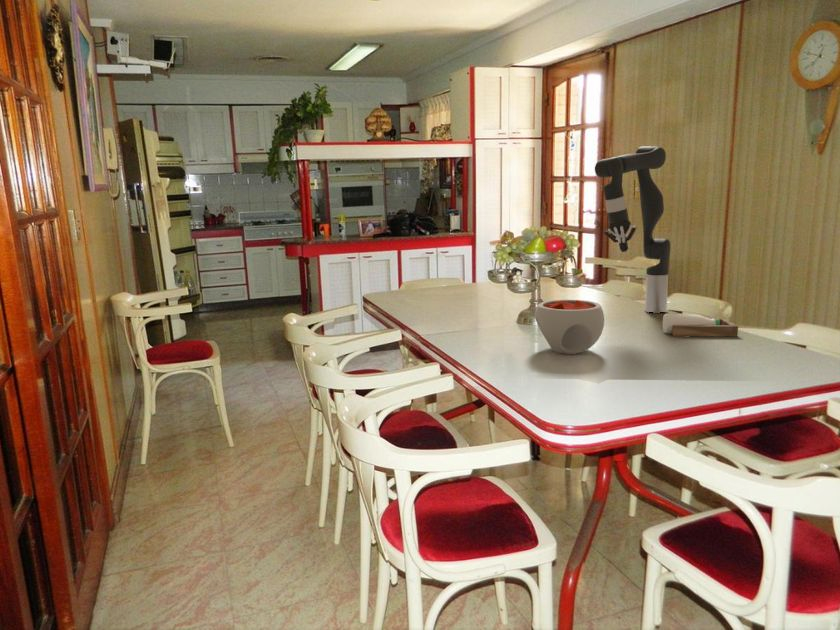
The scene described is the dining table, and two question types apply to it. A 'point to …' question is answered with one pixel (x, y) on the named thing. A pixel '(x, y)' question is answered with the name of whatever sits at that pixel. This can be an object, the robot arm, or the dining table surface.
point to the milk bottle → (685, 321)
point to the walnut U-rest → (706, 329)
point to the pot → (570, 324)
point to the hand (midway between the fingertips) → (624, 251)
